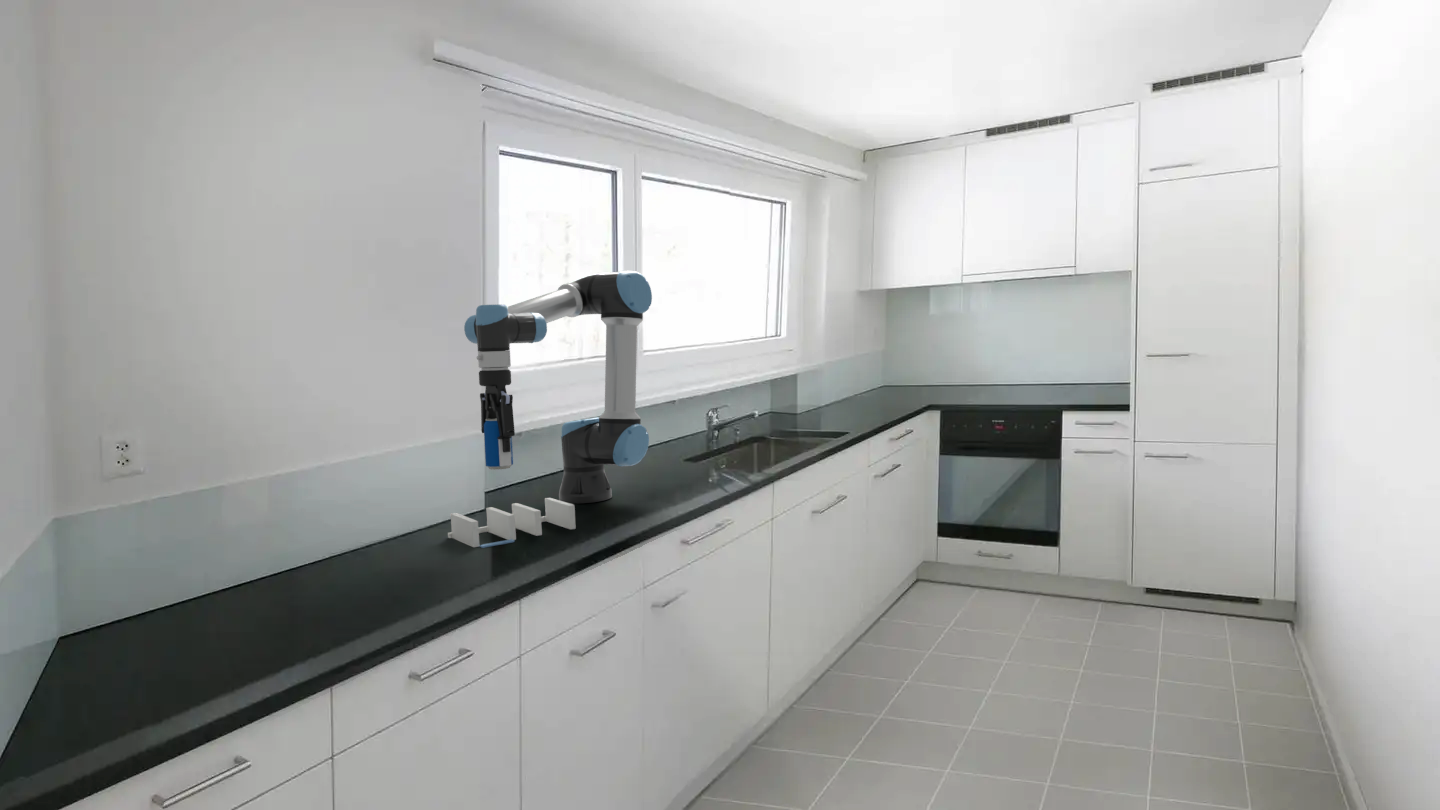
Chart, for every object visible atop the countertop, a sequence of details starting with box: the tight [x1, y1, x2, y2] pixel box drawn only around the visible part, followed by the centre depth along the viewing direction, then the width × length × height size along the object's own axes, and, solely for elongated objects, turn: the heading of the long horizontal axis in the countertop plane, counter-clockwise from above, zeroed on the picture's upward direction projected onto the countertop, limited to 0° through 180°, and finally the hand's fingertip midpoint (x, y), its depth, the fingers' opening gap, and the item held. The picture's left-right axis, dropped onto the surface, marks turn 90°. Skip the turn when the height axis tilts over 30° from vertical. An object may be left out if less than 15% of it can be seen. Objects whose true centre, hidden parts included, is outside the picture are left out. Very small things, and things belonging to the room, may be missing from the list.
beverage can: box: [483, 418, 514, 471], centre depth 234 cm, size 6×6×12 cm
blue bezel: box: [479, 539, 515, 549], centre depth 228 cm, size 8×2×1 cm, turn 126°
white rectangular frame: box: [447, 497, 577, 548], centre depth 239 cm, size 28×14×6 cm, turn 126°
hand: (499, 464), depth 235 cm, fingers closed on beverage can, 6 cm apart
